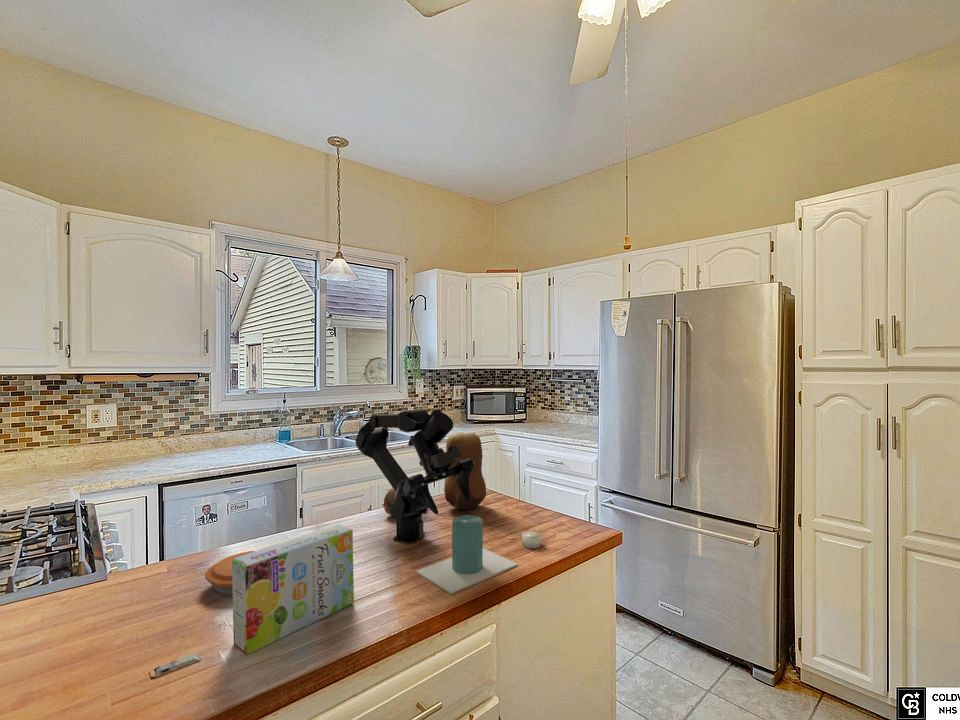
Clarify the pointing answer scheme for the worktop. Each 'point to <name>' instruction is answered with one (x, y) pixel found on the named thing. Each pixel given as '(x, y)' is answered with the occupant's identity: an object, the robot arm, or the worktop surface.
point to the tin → (389, 501)
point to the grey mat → (456, 581)
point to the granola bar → (177, 664)
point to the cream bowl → (531, 539)
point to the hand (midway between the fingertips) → (453, 507)
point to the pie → (223, 575)
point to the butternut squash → (473, 450)
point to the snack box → (291, 586)
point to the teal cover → (467, 544)
